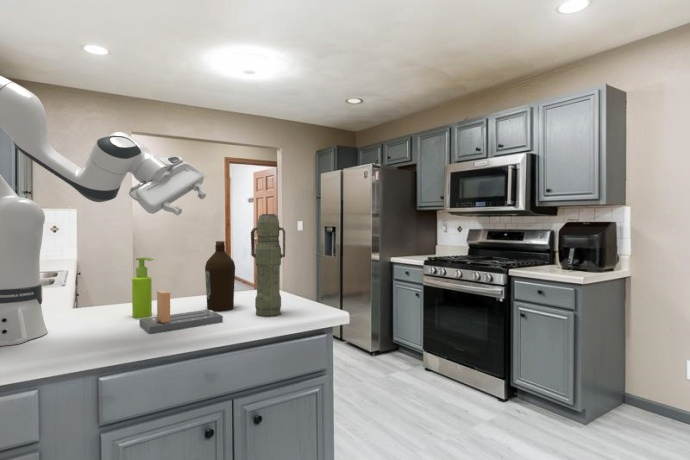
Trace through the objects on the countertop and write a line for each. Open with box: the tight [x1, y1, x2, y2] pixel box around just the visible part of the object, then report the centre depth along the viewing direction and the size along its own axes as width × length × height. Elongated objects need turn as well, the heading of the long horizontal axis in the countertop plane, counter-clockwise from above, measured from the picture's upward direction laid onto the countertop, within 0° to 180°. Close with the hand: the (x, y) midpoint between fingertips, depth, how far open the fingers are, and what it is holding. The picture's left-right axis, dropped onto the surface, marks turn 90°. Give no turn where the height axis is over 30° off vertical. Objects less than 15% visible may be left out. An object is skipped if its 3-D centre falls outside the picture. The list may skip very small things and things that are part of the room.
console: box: [138, 309, 224, 335], centre depth 132 cm, size 22×12×4 cm, turn 129°
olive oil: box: [204, 240, 236, 313], centre depth 153 cm, size 11×11×25 cm
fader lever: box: [156, 290, 171, 323], centre depth 126 cm, size 2×5×9 cm, turn 39°
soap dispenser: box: [131, 257, 154, 319], centre depth 141 cm, size 6×7×20 cm
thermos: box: [250, 213, 286, 318], centre depth 145 cm, size 9×12×35 cm
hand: (192, 204), depth 118 cm, fingers open, 8 cm apart
